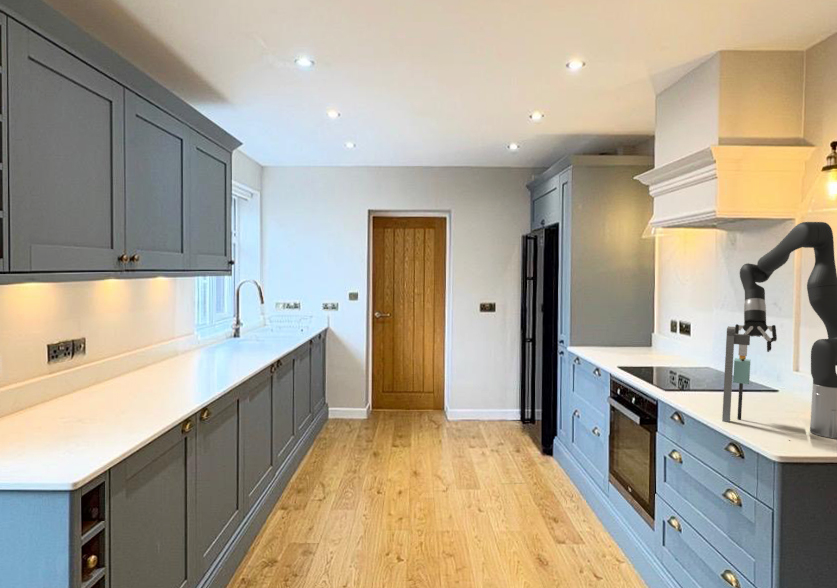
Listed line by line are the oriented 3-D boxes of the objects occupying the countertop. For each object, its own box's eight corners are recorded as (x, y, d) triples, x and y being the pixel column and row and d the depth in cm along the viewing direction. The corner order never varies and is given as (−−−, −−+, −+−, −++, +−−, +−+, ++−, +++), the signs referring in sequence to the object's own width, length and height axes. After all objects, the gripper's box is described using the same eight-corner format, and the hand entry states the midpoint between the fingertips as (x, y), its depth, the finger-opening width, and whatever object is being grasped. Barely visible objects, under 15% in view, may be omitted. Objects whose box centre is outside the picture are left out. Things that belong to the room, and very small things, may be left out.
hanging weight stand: (723, 419, 212) (728, 326, 210) (745, 422, 209) (750, 327, 206) (722, 424, 206) (726, 328, 204) (744, 427, 202) (750, 330, 200)
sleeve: (734, 379, 213) (735, 358, 212) (749, 380, 210) (750, 359, 210) (733, 382, 207) (734, 360, 207) (748, 384, 205) (750, 362, 204)
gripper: (734, 308, 227) (734, 347, 222) (776, 308, 220) (777, 349, 215) (734, 314, 233) (734, 352, 229) (775, 314, 226) (776, 354, 222)
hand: (755, 351), depth 222 cm, fingers open, 8 cm apart
